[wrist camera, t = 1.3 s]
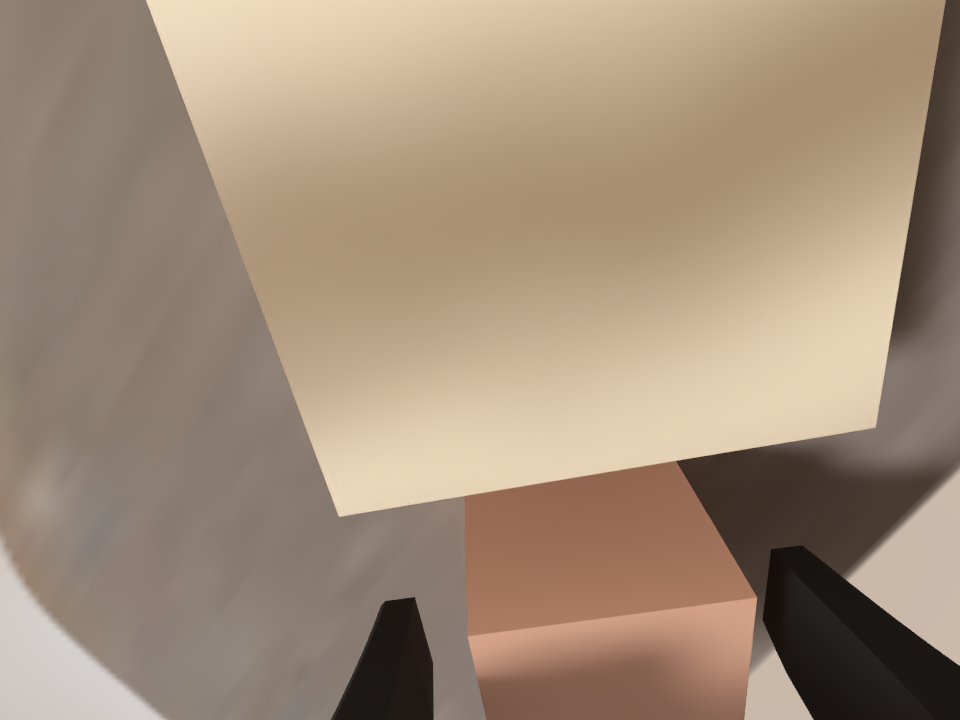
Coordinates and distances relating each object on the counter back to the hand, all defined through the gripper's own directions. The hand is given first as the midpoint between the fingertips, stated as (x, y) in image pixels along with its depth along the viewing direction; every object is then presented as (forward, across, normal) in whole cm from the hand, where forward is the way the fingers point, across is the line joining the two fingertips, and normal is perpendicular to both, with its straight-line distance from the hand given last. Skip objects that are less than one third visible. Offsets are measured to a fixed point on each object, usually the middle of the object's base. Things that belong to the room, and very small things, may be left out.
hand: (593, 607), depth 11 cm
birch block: (+3, 0, -8) cm, 9 cm away
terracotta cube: (+2, 0, 0) cm, 3 cm away
